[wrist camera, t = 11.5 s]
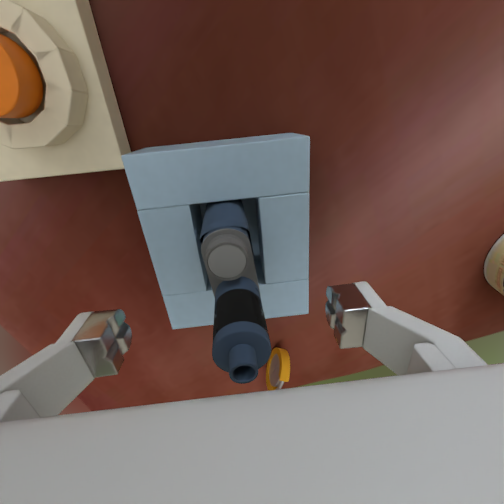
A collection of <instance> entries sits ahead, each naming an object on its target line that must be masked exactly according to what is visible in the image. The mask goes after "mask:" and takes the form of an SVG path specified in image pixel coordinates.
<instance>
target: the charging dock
mask: <svg viewBox="0 0 504 504" xmlns="http://www.w3.org/2000/svg"><path fill="white" fill-rule="evenodd" d="M121 158H122V161H123V165H124V168H125V171H126V175H127V178H128V181H129V185H130V188H131V191H132V195H133V198H134V201H135V205H136V208H137V210H138V211H137V213H138V216H139V219H140V223H141V226H142V229H143V233H144V236H145V239H146V243H147V246H148V249H149V253H150V256H151V259H152V263H153V266H154V269H155V273H156V276H157V279H158V283H159V286H160V289H161V293H162V296H163V299H164V302H165V306H166V309H167V312H168V316H169V319H170V322H171V326H172V329H180V328H188V327H197V326H206V325H214V308H215V297H214V294H213V291H212V287H211V284H210V281H209V277H208V274H207V270H206V267H205V264H204V260H203V257H202V253H201V246H202V244H201V243H200V234H201V229H202V224H203V219H204V215H205V210H206V205H207V203H211V202H220V201H229V200H239V199H241V200H242V203H243V206H244V210H245V214H246V219H247V223H248V227H249V231H250V236H251V242H252V248H253V254H254V260H255V261H254V264H255V269H256V274H257V279H258V284H259V289H260V296H261V302H262V306H263V308H262V309H263V311H264V316H265V319H266V318H275V317H284V316H292V315H301V314H308V311H309V279H308V278H309V187H310V137H309V136H306V135H301V134H296V133H284V134H274V135H264V136H255V137H245V138H235V139H225V140H216V141H206V142H196V143H186V144H177V145H167V146H157V147H147V148H144V149H140V150H137V151H134V152H131V153H128V154H124V155H122V156H121ZM215 317H216V316H215Z"/></svg>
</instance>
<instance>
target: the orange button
mask: <svg viewBox="0 0 504 504" xmlns="http://www.w3.org/2000/svg"><path fill="white" fill-rule="evenodd" d="M42 97H43V84H42V79H41V76H40V73H39V71H38V69H37V67H36V65H35V63H34V62H33V60H32V59H31V57H30V56H29V55H28V54H27V52H26V51H25V50H24V49H23V48H22V47H21V46H19V45H18V44H17V43H16V42H15V41H13V40H12V39H10V38H8V37H6V36H5V35H2V34H0V118H24V117H27V116H29V115H31V114H33V113H34V112H35V111H36V110H37V109H38V108H39V106H40V104H41V101H42Z"/></svg>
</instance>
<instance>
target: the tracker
mask: <svg viewBox="0 0 504 504" xmlns="http://www.w3.org/2000/svg"><path fill="white" fill-rule="evenodd" d="M289 375H290V358H289V354H288V352H287V350H285V349H281V348H274V349H273V350H272V352H271V355H270V358H269V360H268V363H267V369H266V383H267V388H268V390H269V391H270V390H279V389H281V387H282V385H283V383H284V381H285V382H288V380H289Z"/></svg>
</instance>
